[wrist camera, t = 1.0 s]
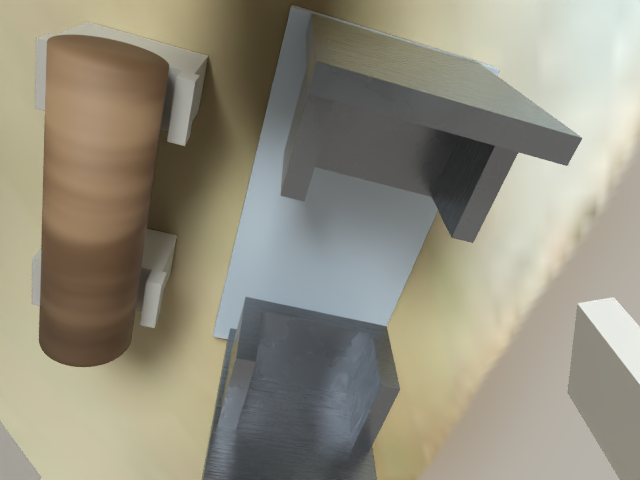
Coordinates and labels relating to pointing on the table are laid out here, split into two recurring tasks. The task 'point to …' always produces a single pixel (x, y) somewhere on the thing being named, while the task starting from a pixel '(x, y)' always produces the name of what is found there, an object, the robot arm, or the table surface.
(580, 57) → the table surface
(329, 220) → the wall board
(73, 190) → the brown cylinder
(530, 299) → the table surface
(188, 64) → the rest blocks
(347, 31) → the brackets
